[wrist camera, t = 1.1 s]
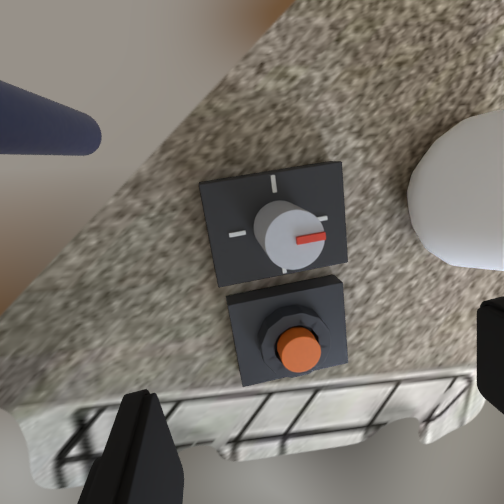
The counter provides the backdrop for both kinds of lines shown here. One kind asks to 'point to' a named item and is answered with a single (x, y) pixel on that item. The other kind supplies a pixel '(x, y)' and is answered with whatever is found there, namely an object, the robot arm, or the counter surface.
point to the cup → (462, 194)
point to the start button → (298, 349)
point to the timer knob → (289, 234)
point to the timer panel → (257, 196)
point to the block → (287, 325)
